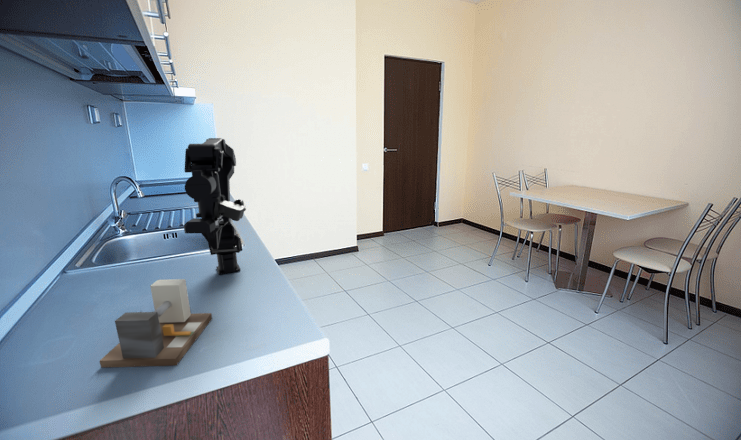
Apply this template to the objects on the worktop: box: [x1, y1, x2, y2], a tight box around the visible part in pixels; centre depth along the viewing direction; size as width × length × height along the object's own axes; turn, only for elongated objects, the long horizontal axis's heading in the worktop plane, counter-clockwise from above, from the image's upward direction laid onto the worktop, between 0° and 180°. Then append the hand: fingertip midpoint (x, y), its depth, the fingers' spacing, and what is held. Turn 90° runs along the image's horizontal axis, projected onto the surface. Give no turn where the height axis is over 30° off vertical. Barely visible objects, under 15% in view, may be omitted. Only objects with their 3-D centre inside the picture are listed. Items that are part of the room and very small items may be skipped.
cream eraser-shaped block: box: [150, 278, 192, 323], centre depth 74 cm, size 7×6×9 cm
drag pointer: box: [162, 324, 191, 336], centre depth 71 cm, size 1×5×2 cm, turn 92°
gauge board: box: [99, 311, 213, 369], centre depth 71 cm, size 16×14×10 cm
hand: (215, 248), depth 93 cm, fingers closed
